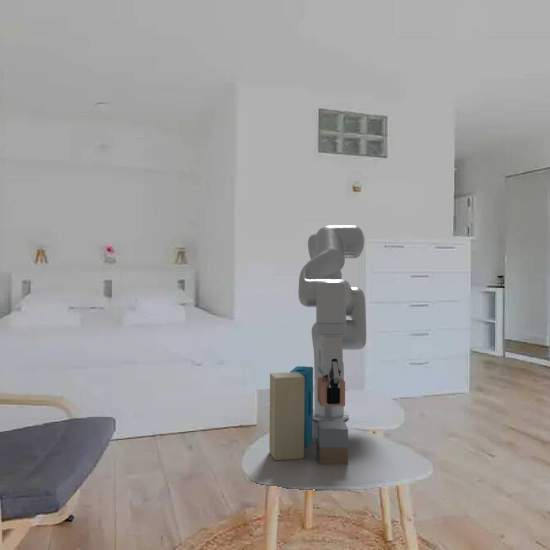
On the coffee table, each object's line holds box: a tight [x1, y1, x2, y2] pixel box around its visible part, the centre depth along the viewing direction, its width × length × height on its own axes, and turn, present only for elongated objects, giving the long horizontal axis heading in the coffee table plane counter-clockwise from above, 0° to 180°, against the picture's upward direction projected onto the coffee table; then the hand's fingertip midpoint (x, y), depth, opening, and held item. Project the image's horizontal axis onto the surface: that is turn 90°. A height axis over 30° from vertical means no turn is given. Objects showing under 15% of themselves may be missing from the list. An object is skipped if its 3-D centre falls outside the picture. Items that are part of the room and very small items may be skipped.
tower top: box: [317, 420, 349, 448], centre depth 136 cm, size 7×7×4 cm
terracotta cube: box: [318, 377, 346, 407], centre depth 137 cm, size 6×6×6 cm
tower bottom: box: [316, 437, 349, 466], centre depth 137 cm, size 7×7×4 cm
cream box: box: [268, 372, 305, 461], centre depth 140 cm, size 8×7×21 cm
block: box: [288, 365, 314, 448], centre depth 150 cm, size 12×5×20 cm, turn 165°
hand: (331, 399), depth 137 cm, fingers closed on terracotta cube, 6 cm apart
